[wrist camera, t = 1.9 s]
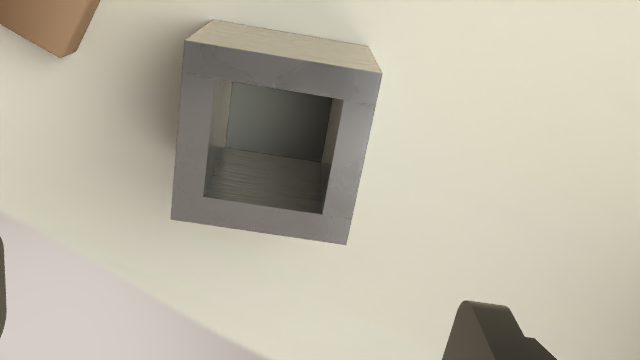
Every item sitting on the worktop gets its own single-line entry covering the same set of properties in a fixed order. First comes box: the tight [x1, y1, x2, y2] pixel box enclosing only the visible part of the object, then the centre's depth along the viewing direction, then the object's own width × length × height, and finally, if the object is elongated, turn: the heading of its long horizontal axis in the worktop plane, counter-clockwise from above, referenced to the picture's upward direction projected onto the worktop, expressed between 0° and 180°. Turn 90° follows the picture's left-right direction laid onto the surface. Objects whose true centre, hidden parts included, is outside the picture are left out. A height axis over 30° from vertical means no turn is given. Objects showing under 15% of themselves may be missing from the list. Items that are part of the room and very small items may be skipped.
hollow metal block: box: [171, 20, 382, 245], centre depth 21 cm, size 6×6×5 cm
